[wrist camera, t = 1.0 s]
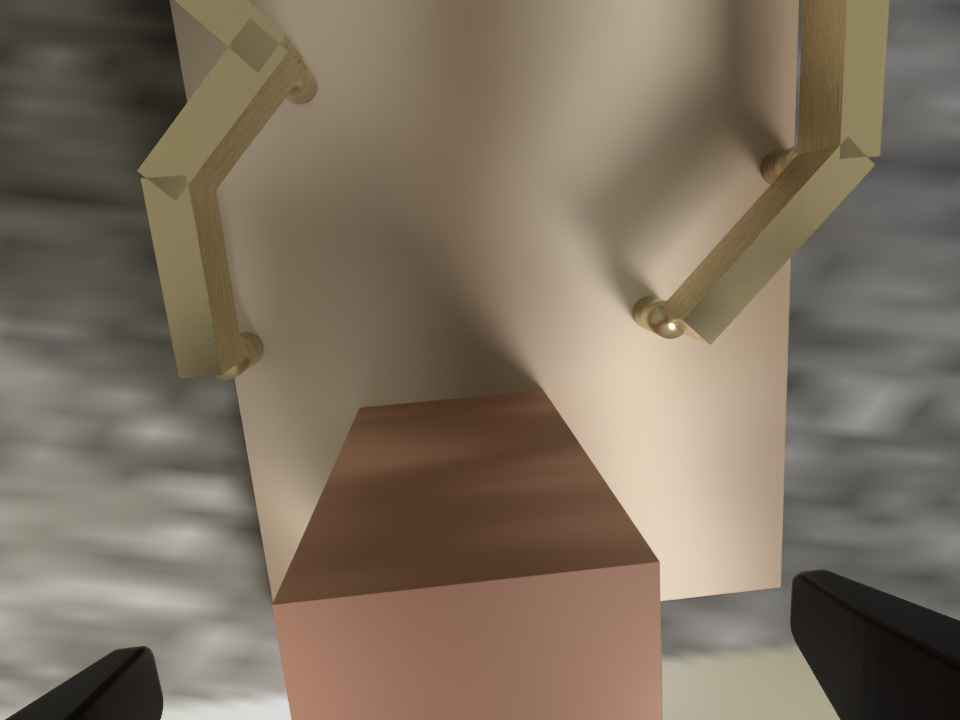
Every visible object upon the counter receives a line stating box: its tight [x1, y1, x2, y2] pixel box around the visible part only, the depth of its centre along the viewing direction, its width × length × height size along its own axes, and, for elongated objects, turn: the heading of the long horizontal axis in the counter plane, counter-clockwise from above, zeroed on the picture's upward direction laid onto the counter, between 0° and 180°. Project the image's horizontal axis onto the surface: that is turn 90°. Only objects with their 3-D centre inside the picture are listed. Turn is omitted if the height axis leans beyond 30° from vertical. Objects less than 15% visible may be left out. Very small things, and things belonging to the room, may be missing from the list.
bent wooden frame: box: [137, 0, 889, 380], centre depth 10 cm, size 12×11×2 cm
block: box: [272, 390, 662, 720], centre depth 10 cm, size 4×4×7 cm
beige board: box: [170, 0, 799, 602], centre depth 12 cm, size 12×24×1 cm, turn 5°
